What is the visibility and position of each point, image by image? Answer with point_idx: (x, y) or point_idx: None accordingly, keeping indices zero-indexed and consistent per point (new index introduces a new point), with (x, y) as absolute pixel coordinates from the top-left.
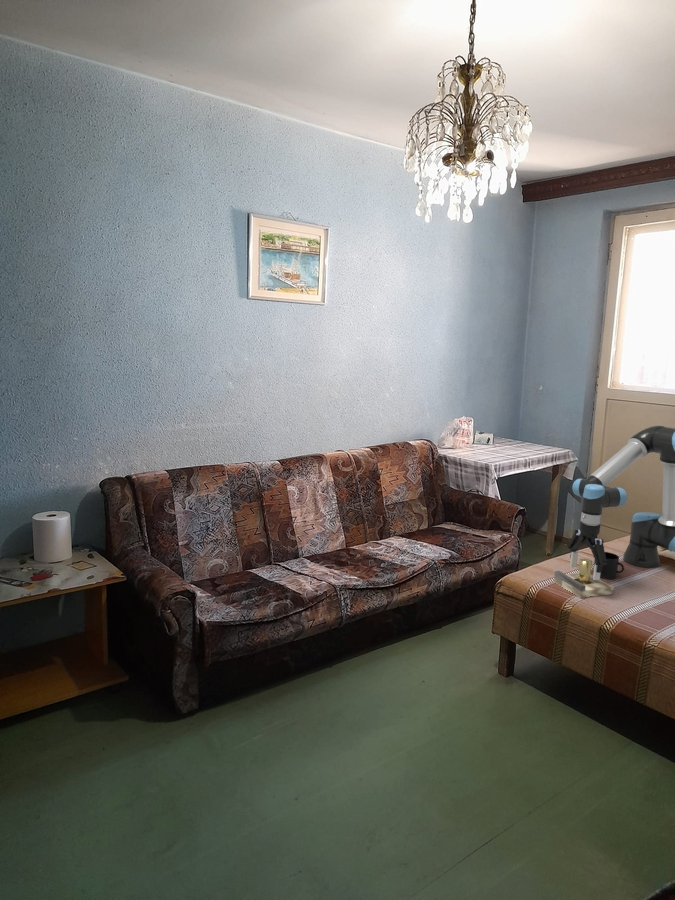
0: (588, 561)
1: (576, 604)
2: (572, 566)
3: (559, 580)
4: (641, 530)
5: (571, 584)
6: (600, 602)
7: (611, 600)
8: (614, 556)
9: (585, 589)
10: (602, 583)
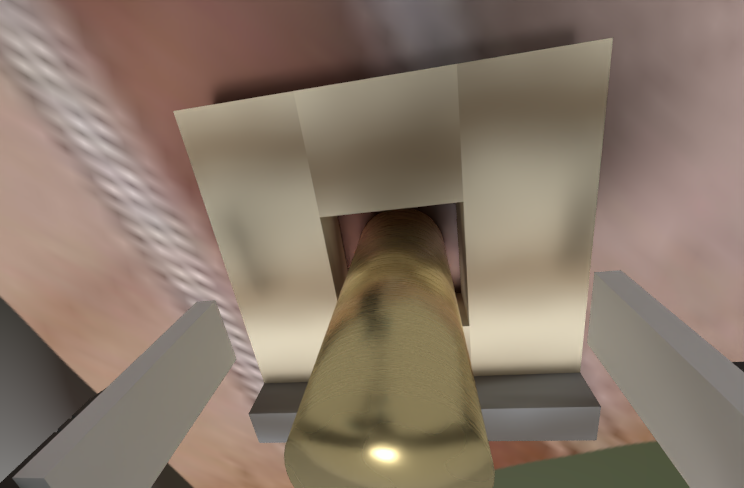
0: (442, 466)
1: (623, 425)
2: (226, 352)
3: None
4: None
5: None
6: (671, 271)
7: (684, 157)
8: None
9: (562, 357)
10: (487, 117)
